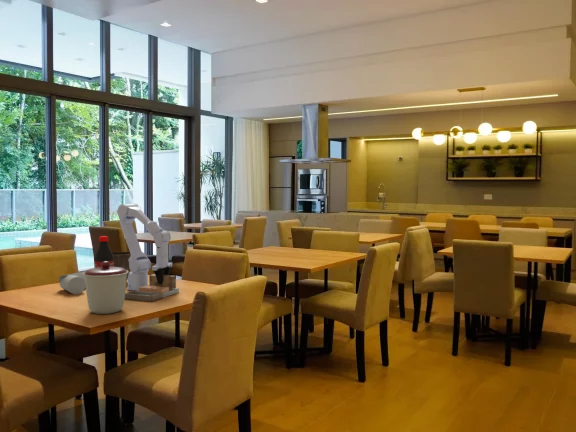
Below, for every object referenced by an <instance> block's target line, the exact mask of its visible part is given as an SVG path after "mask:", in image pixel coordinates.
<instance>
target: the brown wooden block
mask: <svg viewBox="0 0 576 432" xmlns="http://www.w3.org/2000/svg"><path fill="white" fill-rule="evenodd" d="M176 278H177V276H176V275H170V274H169V275H163V283H162V284H158V281H157V278H156V275H155V273H153V274H149V277H148V284H149V285H150V286H162V287H169V289H174V288H177V279H176Z"/></svg>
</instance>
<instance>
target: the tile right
mask: <svg viewBox="0 0 576 432" xmlns="http://www.w3.org/2000/svg"><path fill="white" fill-rule="evenodd" d="M167 291H169V287H162V286H157V287H154V288H151V292H154V293H164V292H167Z"/></svg>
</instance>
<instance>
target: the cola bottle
mask: <svg viewBox="0 0 576 432" xmlns="http://www.w3.org/2000/svg"><path fill="white" fill-rule="evenodd" d="M109 241H110V240H109V236H107V235H100V236H99V237H98V243H99V245H98V247H97V249H96V252H95V255H94V257H93V261H94V263H93V264H94V267H93V268H98V267H102V266H101V263H102V262H104V261H108V262H109V263H110V267H114V257H113V254H112V252H113V251H112V250H111V248H110V246H109Z"/></svg>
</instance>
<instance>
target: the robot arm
mask: <svg viewBox="0 0 576 432" xmlns="http://www.w3.org/2000/svg"><path fill="white" fill-rule="evenodd" d="M116 213H117V215H118V216H117V217H118V218H119V225H120V228H121V230H122V234H123V236H124V238H125V242H126V245H127V248H128V249H129V251H128V252H130V254H131V256H130V258H129V260H128V261H129V268H130V273H129V275H128V279H127V288H126V290H127V291H134V290H136V291H139V287H142V286H145V285H148V284H149V277H148V273H149V272H150V271H149V270H150V269H151V271H152V272H153V274H155V275H156V278H157V281H158V284H162V283H163V275H170V274H171V271H172V267H173V262H169V242H170V241H171V238H172V237H171V233H170V232H169V231H168V230H164V229H163V228H162V227H160V225H159V224H158V222H156V221H154V220H151V219H150V218H149V217H148V216H147V215H146V214H145V213H144V212H143V211H142V208H141V206H139V205H138V204H137V203H125V204H124V203H121V204H120V205H119V206H118V208H117V210H116ZM136 219H137V220H138V221H139V222H140V223H142V224H143V226H145V230H146V231H147V232H148V233H149V234H150V235H151V236H152V238H153V241H154V245H155V248H156V249H155V253H156V256H155V258H156V261H155V262H156V264H155V265H152V262H151V261H150V260H151V259H150V258H148V256H147V254H146V253H145V252H143V251H142V249H141V246H140V243H139V240H138V237H137V235H136V234H137V233H136V231H135V229H134V226H133V223H134V221H135V220H136Z"/></svg>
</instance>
